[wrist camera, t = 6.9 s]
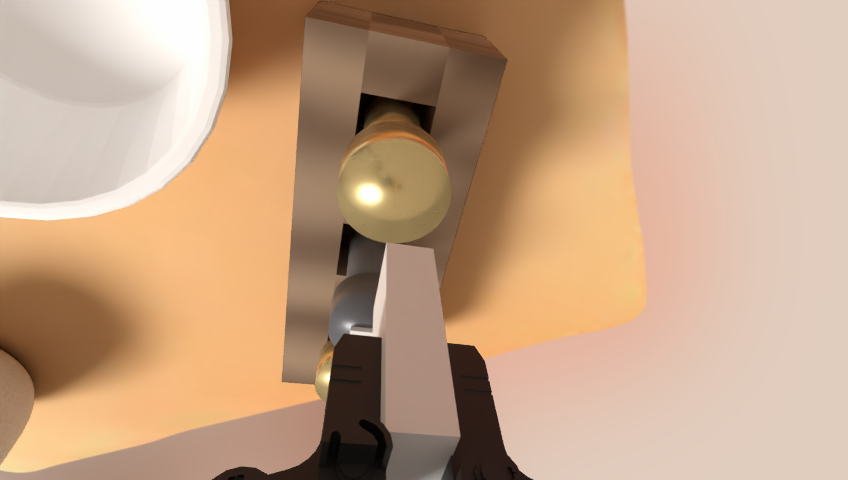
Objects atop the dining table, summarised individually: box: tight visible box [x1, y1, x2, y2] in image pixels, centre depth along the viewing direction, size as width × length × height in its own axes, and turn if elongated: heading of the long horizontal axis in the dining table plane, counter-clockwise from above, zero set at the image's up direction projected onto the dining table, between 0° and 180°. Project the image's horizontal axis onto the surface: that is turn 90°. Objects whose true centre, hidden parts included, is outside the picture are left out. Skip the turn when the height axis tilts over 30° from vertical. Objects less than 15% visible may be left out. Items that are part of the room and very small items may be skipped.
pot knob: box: [328, 228, 386, 346], centre depth 27 cm, size 4×4×10 cm
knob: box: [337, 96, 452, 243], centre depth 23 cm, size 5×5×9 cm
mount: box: [282, 1, 507, 385], centre depth 32 cm, size 26×10×6 cm, turn 168°
